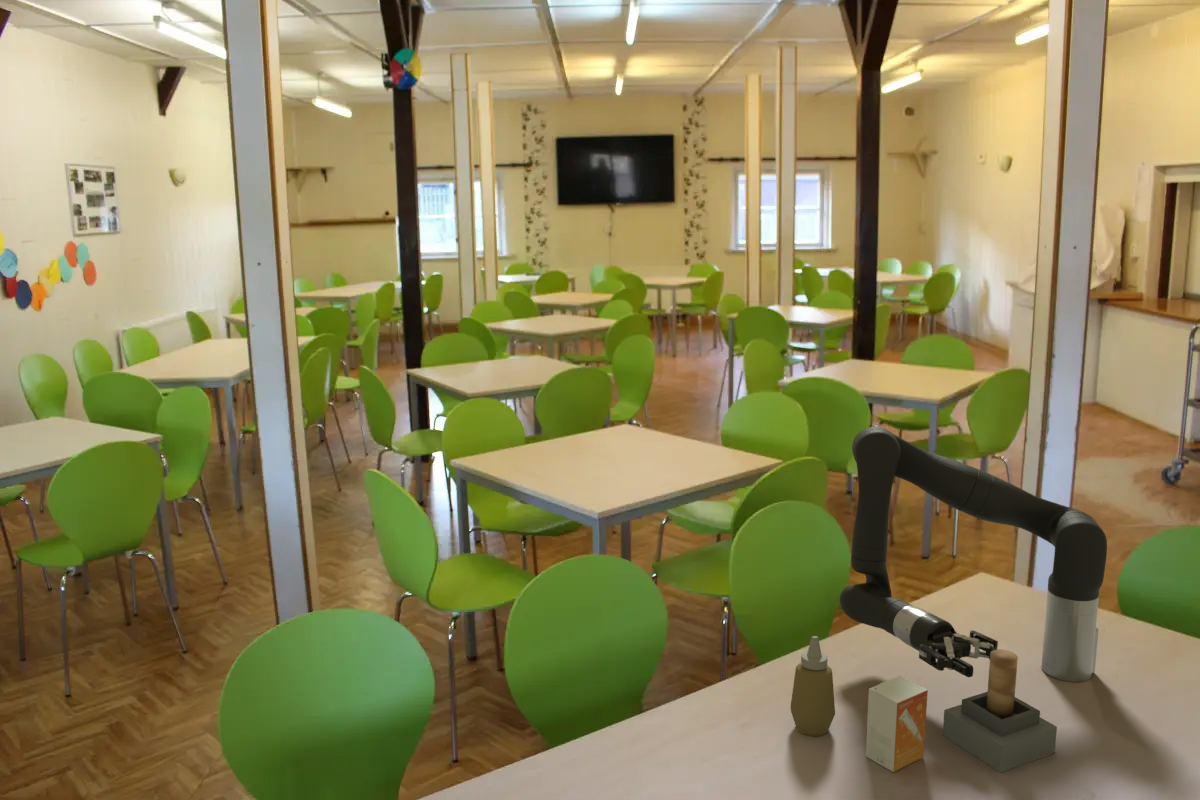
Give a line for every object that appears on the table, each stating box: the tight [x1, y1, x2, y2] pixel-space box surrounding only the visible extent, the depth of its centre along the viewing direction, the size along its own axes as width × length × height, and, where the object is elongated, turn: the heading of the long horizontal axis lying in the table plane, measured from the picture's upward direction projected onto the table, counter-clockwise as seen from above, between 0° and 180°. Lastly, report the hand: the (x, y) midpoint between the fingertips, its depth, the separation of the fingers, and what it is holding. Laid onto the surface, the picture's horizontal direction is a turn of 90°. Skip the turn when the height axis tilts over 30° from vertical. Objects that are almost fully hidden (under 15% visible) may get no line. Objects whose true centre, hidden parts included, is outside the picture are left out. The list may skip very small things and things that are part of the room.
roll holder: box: [942, 691, 1058, 773], centre depth 169 cm, size 13×13×8 cm
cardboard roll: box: [986, 648, 1019, 719], centre depth 168 cm, size 4×4×12 cm
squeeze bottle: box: [790, 635, 836, 737], centre depth 174 cm, size 8×8×18 cm
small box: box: [865, 675, 929, 773], centre depth 165 cm, size 8×6×13 cm
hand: (989, 666), depth 170 cm, fingers open, 8 cm apart
